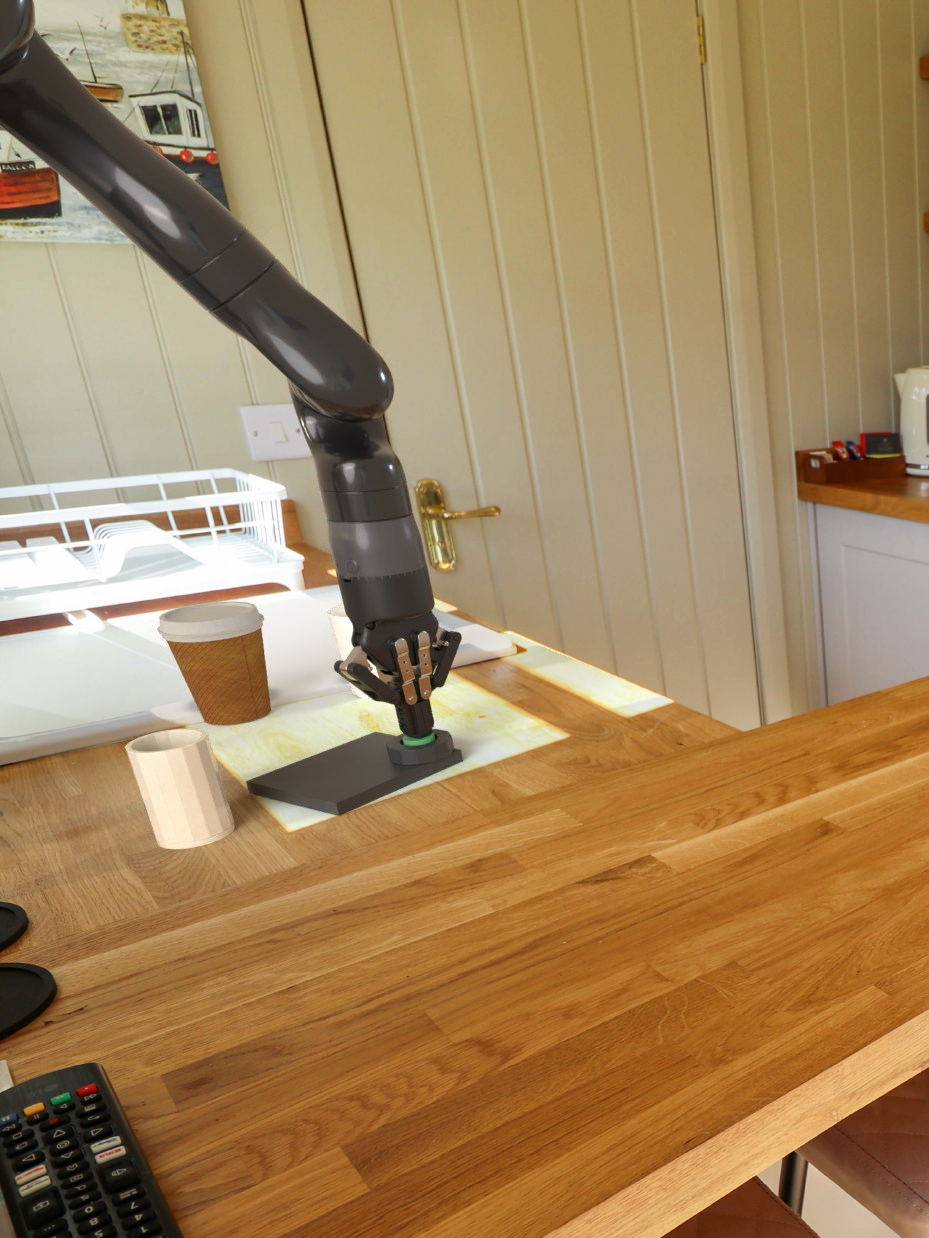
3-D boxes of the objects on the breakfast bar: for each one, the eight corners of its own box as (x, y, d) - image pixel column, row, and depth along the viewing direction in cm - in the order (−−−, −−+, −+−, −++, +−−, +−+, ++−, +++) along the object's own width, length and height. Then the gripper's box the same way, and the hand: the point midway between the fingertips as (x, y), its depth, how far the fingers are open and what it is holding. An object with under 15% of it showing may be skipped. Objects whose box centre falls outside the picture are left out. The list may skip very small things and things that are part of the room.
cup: (185, 854, 92) (153, 757, 89) (142, 842, 94) (109, 746, 91) (249, 827, 97) (222, 734, 94) (207, 816, 99) (178, 724, 95)
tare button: (420, 759, 108) (416, 742, 107) (399, 754, 109) (395, 738, 108) (443, 749, 110) (440, 733, 109) (423, 745, 111) (419, 729, 110)
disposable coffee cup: (180, 713, 122) (147, 609, 118) (278, 695, 128) (251, 595, 123) (193, 738, 116) (160, 629, 111) (296, 717, 122) (269, 613, 117)
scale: (342, 817, 99) (334, 787, 98) (249, 794, 103) (240, 765, 102) (469, 761, 112) (463, 733, 110) (381, 742, 116) (375, 716, 114)
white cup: (401, 701, 127) (382, 618, 123) (333, 700, 127) (312, 617, 123) (433, 679, 134) (417, 600, 130) (369, 678, 134) (351, 599, 130)
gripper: (411, 546, 109) (445, 709, 116) (286, 575, 97) (332, 753, 104) (468, 554, 106) (499, 719, 113) (346, 584, 95) (389, 766, 102)
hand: (419, 735), depth 109 cm, fingers closed
